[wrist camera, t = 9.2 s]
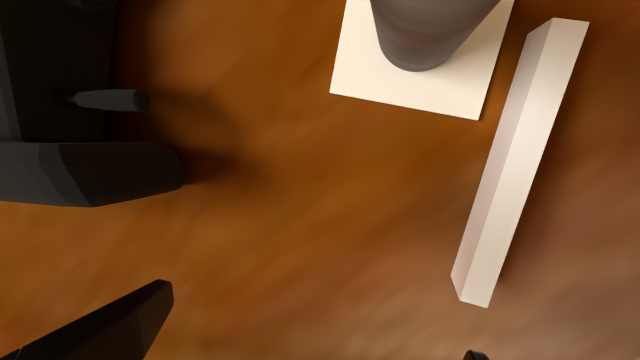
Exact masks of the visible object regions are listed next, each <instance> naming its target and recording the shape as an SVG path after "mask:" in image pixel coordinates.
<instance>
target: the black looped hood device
mask: <svg viewBox="0 0 640 360" xmlns="http://www.w3.org/2000/svg"><path fill="white" fill-rule="evenodd" d="M117 2H118V0H0V201H9V202H20V203H31V204H42V205H53V206H70V207H98V206H103V205H109V204H114V203H119V202H124V201H129V200H134V199H139V198H143V197H148V196H152V195H157V194H161V193H166V192H169V191H173V190H177V189H180V188H181V187H182V186H183V184H184V183H185V178H186V177H185V174H184V172H183V169H182V167H181V164H180V162H179V159H178V157H177V155H176V153H175V152H174V151H173V150H172V149H171V148H169V147H167V146H166V145H164V144H162V143H144V142H112V141H100V140H101V139H102V138H103V125H104V116H105V110H113V111H146V110H147V109H148V108H149V106H150V99H149V97H148V95H147V94H146V93H145V91H143V90H138V89H110V90H107V88H108V79H109V70H110V61H111V51H112V42H113V33H114V23H115V14H116V5H117Z"/></svg>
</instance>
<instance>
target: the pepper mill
mask: <svg viewBox="0 0 640 360" xmlns="http://www.w3.org/2000/svg"><path fill="white" fill-rule="evenodd" d="M500 1H501V0H370V4H371V9H372V13H373V18H374V23H375V27H376V32H377V37H378V41H379V45H380V48H381V50H382V52H383V54H384V56H385V57H386V58H387V60H388V61H389V62H390V63H392V64H393V65H394V66H396V67H398V68H399V69H402V70H405V71H409V72H423V71H428V70H431V69H433V68H436V67H438V66H439V65H441V64H443V63H444V62H445V61H447V60H448V59H449V58H450V57H451V56H452V55H453V53H454V52H455V51H456V50H457V49H458V48H459V47H460V46H461V45H462V43H463V42H464V41H465V40H466V39H467V38H468V37H469V36H470V34H471V33H472V32H473V31H474V30H475V29H476V28H477V27H478V25H479V24H480V23H481V22H482V21H483V20H484V19H485V18H486V17H487V15H488V14H489V13H490V12H491V11H492V10H493V9H494V8H495V6H496V5H497V4H498V3H499V2H500Z"/></svg>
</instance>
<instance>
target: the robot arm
mask: <svg viewBox="0 0 640 360" xmlns="http://www.w3.org/2000/svg"><path fill="white" fill-rule="evenodd" d="M173 303H174V298H173V288H172V283H171V282H169V281H165V280H161V279H158V280H155V281H153V282H151V283H149V284H147V285H145V286H143V287H141V288H139V289H137V290H135V291H133V292H131V293H129V294H127V295H125V296H123V297H121V298H119V299H117V300H115V301H113V302H111V303H109V304H107V305H105V306H103V307H101V308H99V309H97V310H95V311H93V312H91V313H89V314H87V315H85V316H83V317H81V318H79V319H77V320H75V321H73V322H71V323H69V324H67V325H65V326H63V327H61V328H59V329H57V330H55V331H53V332H51V333H49V334H47V335H45V336H43V337H41V338H39V339H37V340H35V341H33V342H31V343H29V344H27V345H25V346H23V347H22V348H21V349H17V350H15V351H13V352H11V353H9V354H7V355H5V356H3V357H1V358H0V360H143V359H144V357H145V355H146V354H147V352H148V350H149V349H150V347H151V345H152V343H153V342H154V340H155V338H156V336H157V334H158V333H159V331H160V329H161V327H162V325H163V324H164V322H165V320H166V318H167V316H168V315H169V313H170V311H171V309H172V307H173ZM463 360H489V358H488V357H487V356H486V355H485V354H484V353H482V352H478V351H473V350H468V351H467V352H466V354H465V356H464V359H463Z"/></svg>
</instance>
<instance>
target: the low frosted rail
mask: <svg viewBox="0 0 640 360" xmlns="http://www.w3.org/2000/svg"><path fill="white" fill-rule="evenodd" d="M589 23H590V22H586V21H578V20H570V19H562V18H554V17H553V18H552V19H550V20H549V21H547V22H546V23H544V24H542V25H541V26H539V27H538V28H536V29H535V30H533V31H531V32H530V33H528V34H527V37H526V40H525V43H524V46H523V49H522V53H521V56H520V59H519V62H518V65H517V68H516V71H515V75H514V78H513V81H512V84H511V87H510V90H509V93H508V97H507V100H506V103H505V106H504V109H503V112H502V115H501V119H500V122H499V125H498V128H497V131H496V134H495V137H494V141H493V144H492V147H491V150H490V153H489V156H488V159H487V163H486V166H485V169H484V172H483V175H482V178H481V181H480V185H479V188H478V191H477V194H476V197H475V200H474V203H473V207H472V210H471V213H470V216H469V219H468V222H467V225H466V228H465V232H464V235H463V238H462V241H461V244H460V247H459V250H458V254H457V257H456V260H455V263H454V266H453V269H452V272H451V278H452V281H453V283H454V286H455V289H456V292H457V295H458V298H459V300H460V301H464V302H467V303H471V304H474V305H478V306H481V307H484V308H487V307H488V304H489V302H490V299H491V296H492V293H493V291H494V288H495V285H496V282H497V279H498V277H499V274H500V271H501V268H502V265H503V263H504V260H505V257H506V254H507V251H508V249H509V246H510V243H511V240H512V238H513V235H514V232H515V229H516V226H517V224H518V221H519V218H520V215H521V212H522V210H523V207H524V204H525V201H526V199H527V196H528V193H529V190H530V187H531V185H532V182H533V179H534V176H535V173H536V171H537V168H538V165H539V162H540V159H541V157H542V154H543V151H544V148H545V146H546V143H547V140H548V137H549V134H550V132H551V129H552V126H553V123H554V120H555V118H556V115H557V112H558V109H559V106H560V104H561V101H562V98H563V95H564V93H565V90H566V87H567V84H568V81H569V79H570V76H571V73H572V70H573V67H574V65H575V62H576V59H577V56H578V54H579V51H580V48H581V45H582V42H583V40H584V37H585V34H586V31H587V28H588V26H589Z"/></svg>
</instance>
